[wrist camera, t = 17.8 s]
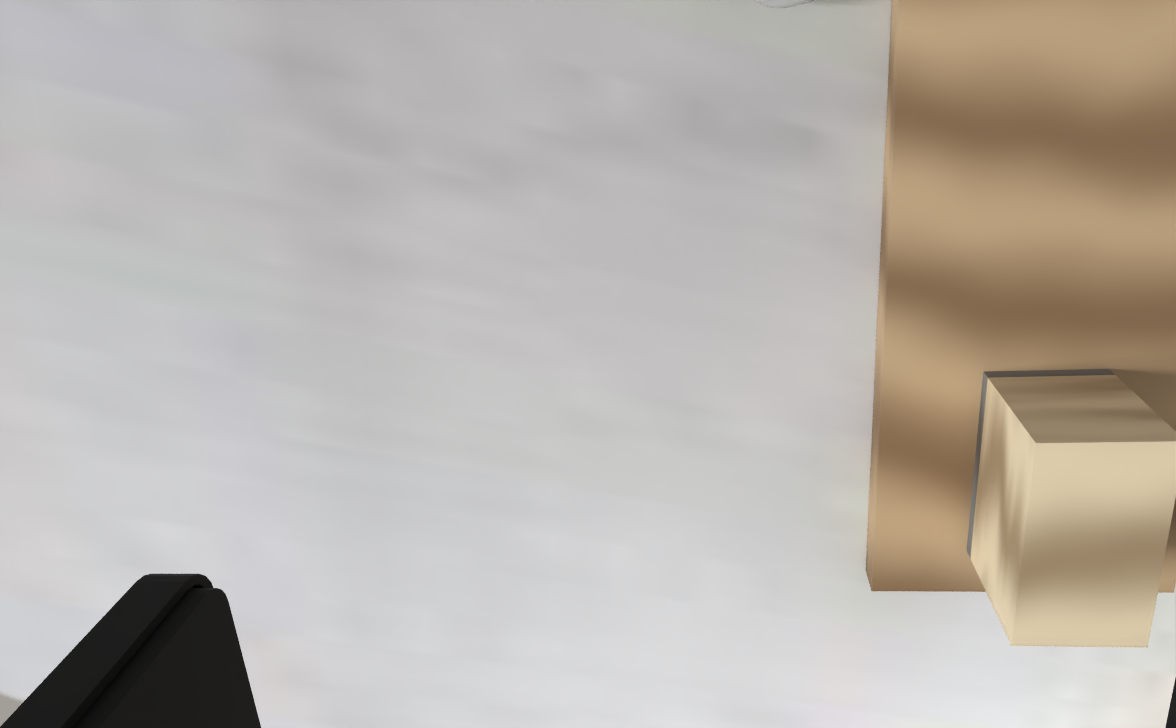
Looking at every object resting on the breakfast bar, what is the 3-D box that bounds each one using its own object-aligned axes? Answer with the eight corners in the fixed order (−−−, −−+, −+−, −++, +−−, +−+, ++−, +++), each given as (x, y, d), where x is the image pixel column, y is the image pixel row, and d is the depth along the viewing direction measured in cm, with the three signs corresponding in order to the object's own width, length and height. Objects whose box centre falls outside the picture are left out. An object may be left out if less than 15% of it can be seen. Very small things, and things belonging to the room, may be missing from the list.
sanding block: (983, 371, 35) (1035, 442, 30) (1108, 368, 35) (1185, 441, 29) (966, 550, 38) (1011, 645, 33) (1082, 550, 38) (1147, 647, 32)
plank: (895, -81, 31) (904, -84, 30) (1282, -113, 30) (1311, -118, 28) (865, 570, 41) (871, 590, 40) (1157, 571, 39) (1173, 592, 38)
